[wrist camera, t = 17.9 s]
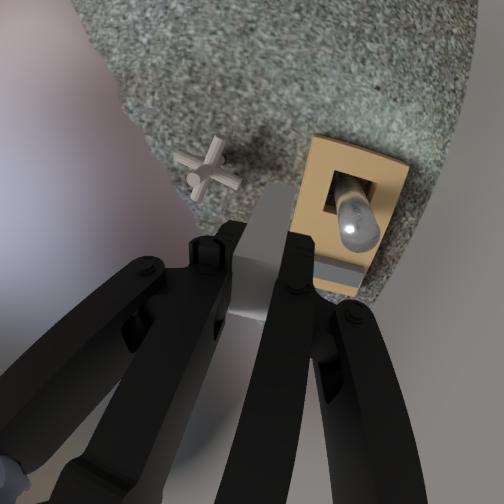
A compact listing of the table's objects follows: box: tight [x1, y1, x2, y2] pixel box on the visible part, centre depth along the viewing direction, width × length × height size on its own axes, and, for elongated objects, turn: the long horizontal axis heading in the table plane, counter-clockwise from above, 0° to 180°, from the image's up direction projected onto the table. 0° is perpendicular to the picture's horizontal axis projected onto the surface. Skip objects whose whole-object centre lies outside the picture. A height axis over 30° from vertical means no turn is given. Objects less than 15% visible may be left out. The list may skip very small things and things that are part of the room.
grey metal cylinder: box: [333, 176, 381, 253], centre depth 33 cm, size 4×4×14 cm
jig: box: [290, 133, 409, 297], centre depth 40 cm, size 24×14×5 cm, turn 171°
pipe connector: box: [174, 134, 243, 202], centre depth 36 cm, size 10×10×10 cm
